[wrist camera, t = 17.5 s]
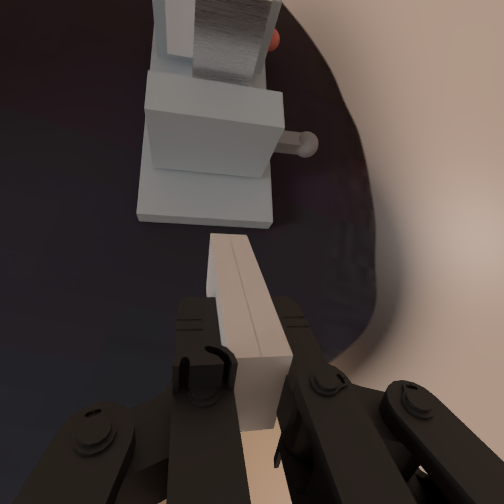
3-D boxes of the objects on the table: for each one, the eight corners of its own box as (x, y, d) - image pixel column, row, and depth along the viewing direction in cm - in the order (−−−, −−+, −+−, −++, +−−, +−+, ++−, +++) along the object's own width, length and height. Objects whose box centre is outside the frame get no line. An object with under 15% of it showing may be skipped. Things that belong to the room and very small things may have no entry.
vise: (139, 221, 25) (120, 164, 17) (155, 33, 31) (147, -71, 23) (282, 229, 27) (321, 183, 20) (271, 55, 33) (299, -32, 26)
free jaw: (153, 167, 24) (144, 108, 18) (156, 131, 25) (148, 64, 19) (303, 182, 27) (338, 135, 21) (300, 148, 28) (333, 95, 22)
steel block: (189, 137, 26) (195, -16, 15) (192, 66, 29) (199, -112, 17) (234, 143, 27) (272, 1, 16) (234, 73, 30) (266, -92, 18)
